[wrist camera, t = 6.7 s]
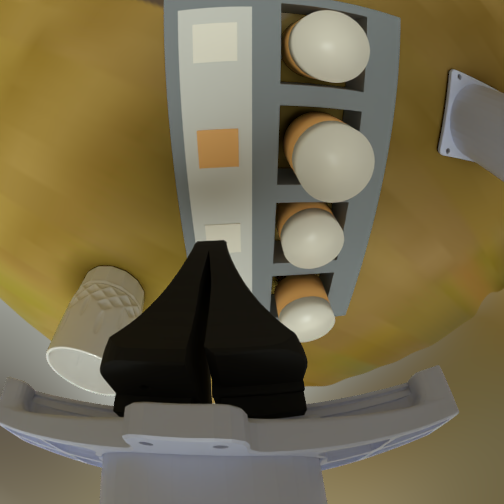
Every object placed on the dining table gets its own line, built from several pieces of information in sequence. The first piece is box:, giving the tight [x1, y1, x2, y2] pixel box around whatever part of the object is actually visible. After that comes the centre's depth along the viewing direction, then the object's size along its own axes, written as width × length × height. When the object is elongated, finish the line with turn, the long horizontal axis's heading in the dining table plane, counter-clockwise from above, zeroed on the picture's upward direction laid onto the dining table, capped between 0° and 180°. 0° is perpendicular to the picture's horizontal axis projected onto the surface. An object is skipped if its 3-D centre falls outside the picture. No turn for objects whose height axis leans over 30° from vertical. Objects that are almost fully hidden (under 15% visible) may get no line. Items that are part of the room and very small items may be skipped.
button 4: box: [274, 274, 335, 342], centre depth 23 cm, size 4×4×4 cm
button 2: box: [283, 112, 375, 203], centre depth 16 cm, size 4×4×4 cm
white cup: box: [46, 266, 144, 396], centre depth 23 cm, size 8×8×10 cm
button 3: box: [275, 202, 344, 269], centre depth 21 cm, size 4×4×4 cm
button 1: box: [281, 10, 370, 83], centre depth 13 cm, size 4×4×4 cm
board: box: [164, 0, 400, 320], centre depth 19 cm, size 14×26×3 cm, turn 0°
